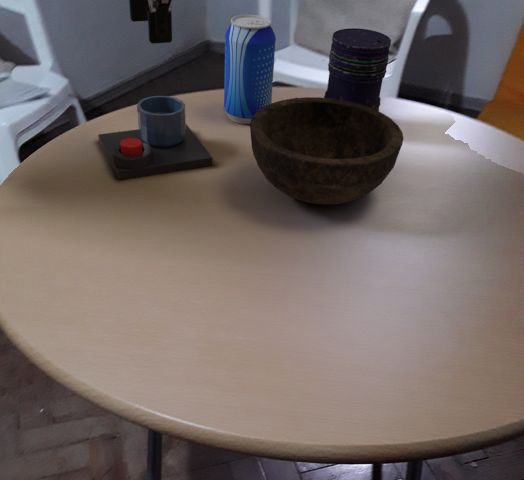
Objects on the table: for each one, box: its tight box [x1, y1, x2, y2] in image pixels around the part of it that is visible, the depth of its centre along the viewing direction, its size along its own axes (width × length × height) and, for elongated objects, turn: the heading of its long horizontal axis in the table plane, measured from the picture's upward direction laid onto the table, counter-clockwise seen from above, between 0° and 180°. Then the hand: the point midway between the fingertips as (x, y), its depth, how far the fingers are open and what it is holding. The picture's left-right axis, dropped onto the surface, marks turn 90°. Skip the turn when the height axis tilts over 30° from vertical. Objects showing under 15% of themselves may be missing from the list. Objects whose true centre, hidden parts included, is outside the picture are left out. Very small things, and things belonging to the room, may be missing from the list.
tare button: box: [120, 138, 142, 156], centre depth 95 cm, size 3×3×2 cm
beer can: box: [223, 14, 277, 125], centre depth 108 cm, size 8×8×16 cm
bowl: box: [249, 96, 404, 205], centre depth 92 cm, size 22×22×10 cm
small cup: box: [136, 95, 187, 147], centre depth 101 cm, size 7×7×6 cm
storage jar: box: [323, 27, 392, 112], centre depth 108 cm, size 10×10×15 cm
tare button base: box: [97, 123, 213, 181], centre depth 100 cm, size 15×13×3 cm
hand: (150, 31), depth 91 cm, fingers open, 9 cm apart
